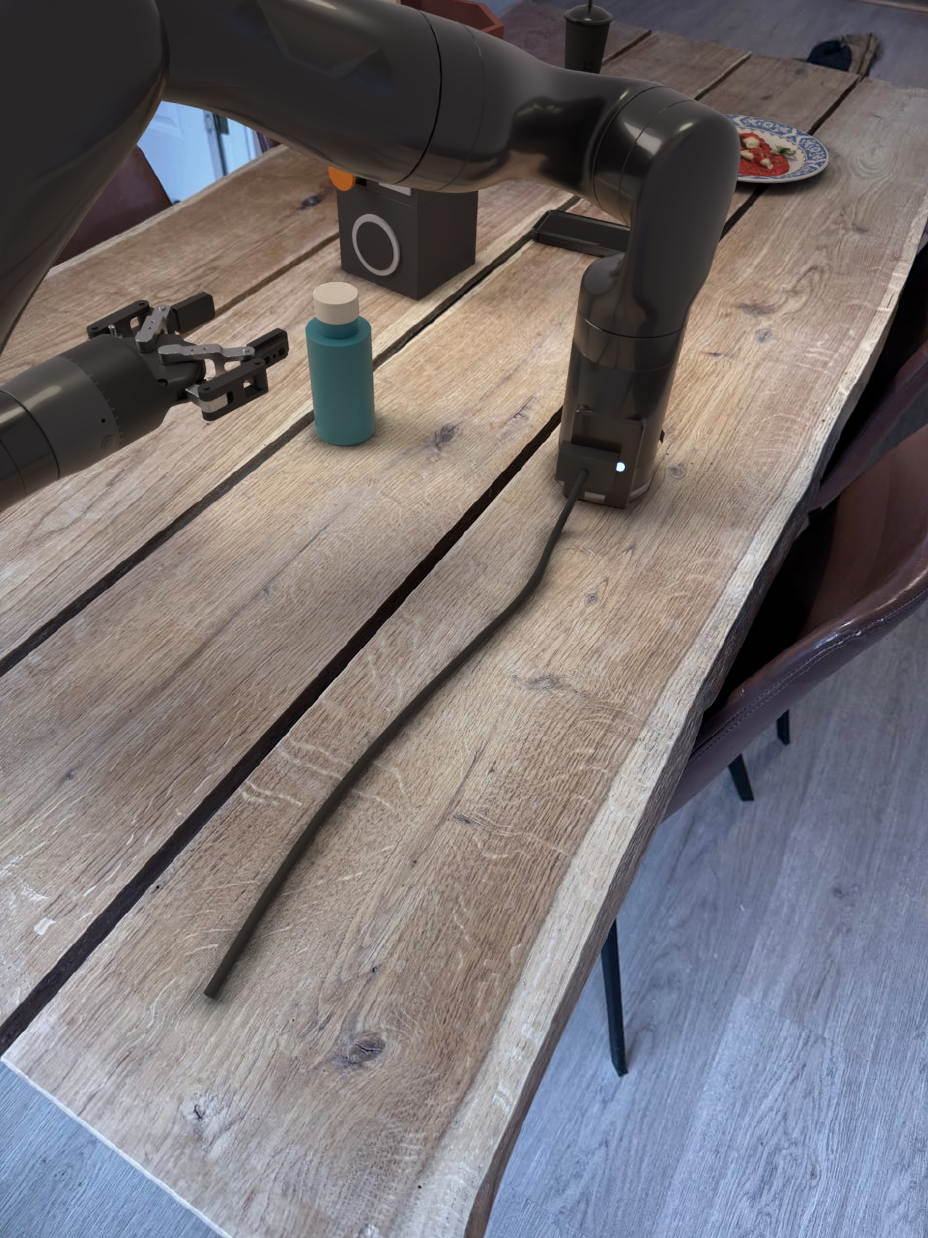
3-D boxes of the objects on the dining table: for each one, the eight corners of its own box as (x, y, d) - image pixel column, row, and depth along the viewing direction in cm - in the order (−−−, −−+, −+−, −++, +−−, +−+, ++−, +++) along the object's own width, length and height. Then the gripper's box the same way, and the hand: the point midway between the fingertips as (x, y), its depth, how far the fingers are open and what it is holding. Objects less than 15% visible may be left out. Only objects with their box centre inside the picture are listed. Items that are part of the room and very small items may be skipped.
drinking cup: (546, 103, 154) (560, -39, 139) (585, 98, 156) (603, -43, 141) (569, 119, 149) (585, -26, 134) (608, 113, 152) (629, -30, 137)
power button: (353, 194, 101) (351, 161, 99) (329, 185, 103) (326, 152, 100) (375, 183, 103) (374, 150, 101) (351, 175, 105) (349, 142, 102)
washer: (414, 302, 108) (413, 172, 97) (338, 270, 112) (329, 142, 101) (475, 263, 115) (481, 138, 104) (401, 235, 119) (399, 112, 108)
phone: (549, 207, 124) (655, 231, 120) (548, 216, 125) (653, 239, 121) (528, 231, 119) (638, 256, 115) (527, 239, 120) (636, 265, 116)
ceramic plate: (653, 184, 133) (657, 163, 131) (659, 121, 150) (662, 101, 148) (831, 204, 131) (838, 183, 128) (817, 137, 148) (823, 118, 146)
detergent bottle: (363, 450, 89) (355, 314, 78) (306, 438, 89) (290, 302, 79) (383, 416, 92) (378, 282, 82) (328, 405, 93) (316, 271, 83)
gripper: (134, 401, 59) (308, 307, 68) (2, 325, 64) (179, 248, 73) (157, 490, 64) (315, 393, 74) (34, 414, 70) (195, 332, 79)
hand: (247, 321), depth 73 cm, fingers open, 8 cm apart
